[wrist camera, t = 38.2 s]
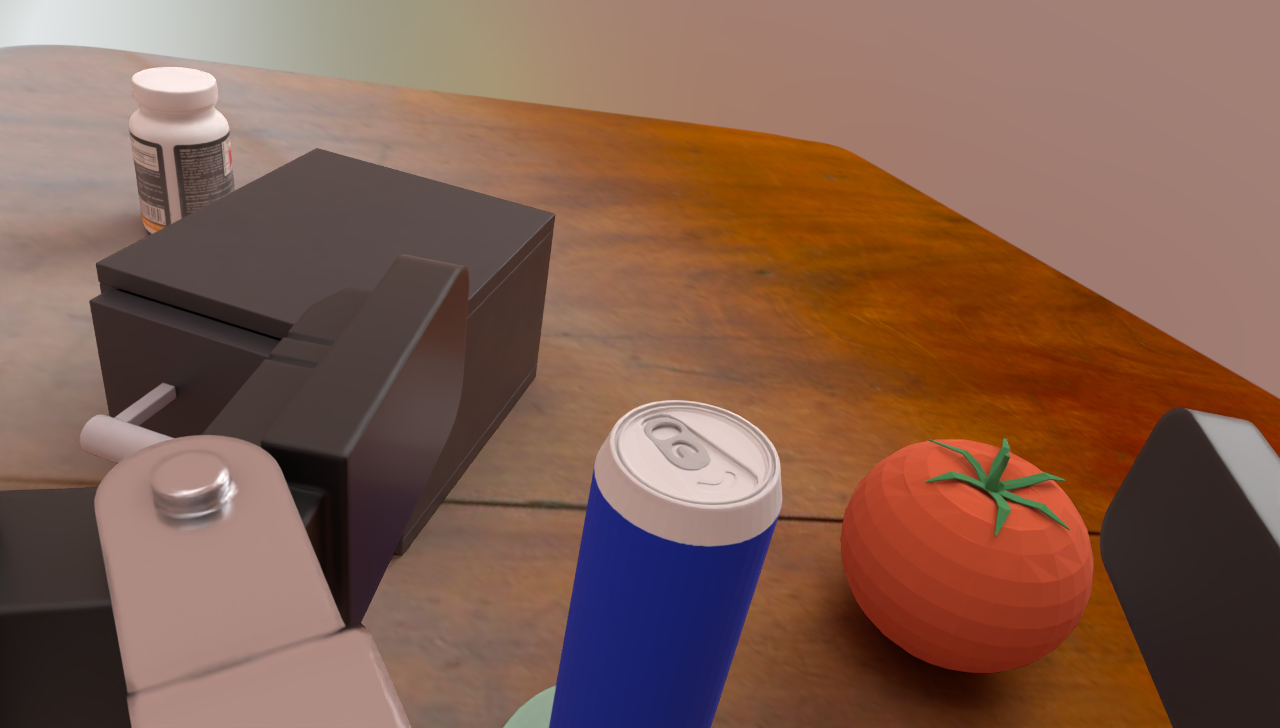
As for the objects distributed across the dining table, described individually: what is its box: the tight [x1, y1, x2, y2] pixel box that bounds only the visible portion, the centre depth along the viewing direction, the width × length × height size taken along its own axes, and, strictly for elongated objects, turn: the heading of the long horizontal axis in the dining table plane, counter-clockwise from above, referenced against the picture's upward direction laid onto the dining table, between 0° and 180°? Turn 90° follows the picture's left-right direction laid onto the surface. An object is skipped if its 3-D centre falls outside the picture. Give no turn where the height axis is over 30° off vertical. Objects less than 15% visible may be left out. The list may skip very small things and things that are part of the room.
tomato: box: [841, 438, 1094, 673], centre depth 40 cm, size 10×10×10 cm
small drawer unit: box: [96, 148, 555, 555], centre depth 46 cm, size 16×14×10 cm
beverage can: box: [549, 400, 782, 728], centre depth 29 cm, size 5×5×15 cm
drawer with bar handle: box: [80, 289, 282, 463], centre depth 43 cm, size 19×13×8 cm
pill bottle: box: [129, 67, 235, 234], centre depth 60 cm, size 6×6×10 cm
